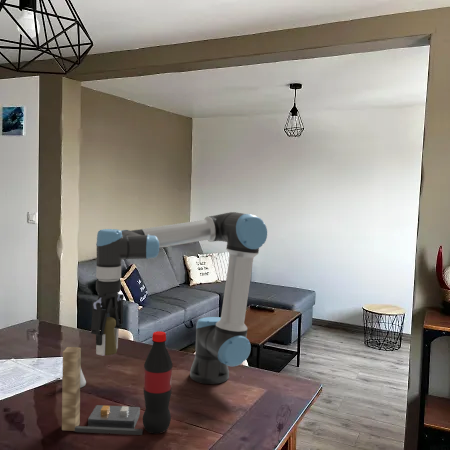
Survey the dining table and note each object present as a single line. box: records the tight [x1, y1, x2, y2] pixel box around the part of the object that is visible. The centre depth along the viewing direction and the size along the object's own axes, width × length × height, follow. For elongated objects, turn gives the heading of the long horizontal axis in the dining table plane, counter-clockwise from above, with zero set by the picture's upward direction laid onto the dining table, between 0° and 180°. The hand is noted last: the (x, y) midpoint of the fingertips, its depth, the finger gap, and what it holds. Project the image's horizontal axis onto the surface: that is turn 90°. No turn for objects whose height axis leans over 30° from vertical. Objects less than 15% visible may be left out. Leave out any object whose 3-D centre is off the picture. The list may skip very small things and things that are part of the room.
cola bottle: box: [142, 330, 173, 435], centre depth 142 cm, size 8×8×30 cm
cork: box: [104, 316, 118, 356], centre depth 149 cm, size 6×6×11 cm
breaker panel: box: [87, 404, 141, 429], centre depth 147 cm, size 14×9×4 cm, turn 89°
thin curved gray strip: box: [74, 425, 144, 436], centre depth 140 cm, size 20×1×1 cm, turn 89°
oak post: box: [61, 346, 82, 432], centre depth 141 cm, size 4×4×24 cm
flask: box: [80, 365, 87, 389], centre depth 171 cm, size 7×7×10 cm
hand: (107, 351), depth 149 cm, fingers closed on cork, 6 cm apart
